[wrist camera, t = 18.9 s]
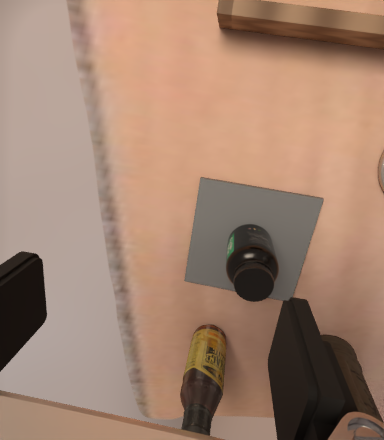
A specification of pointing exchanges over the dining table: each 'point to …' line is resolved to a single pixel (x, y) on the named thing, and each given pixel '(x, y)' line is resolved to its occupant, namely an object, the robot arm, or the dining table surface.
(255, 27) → the crate
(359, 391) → the beer stein
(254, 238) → the supplement bottle
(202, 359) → the sauce bottle
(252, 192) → the mat
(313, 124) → the dining table surface
